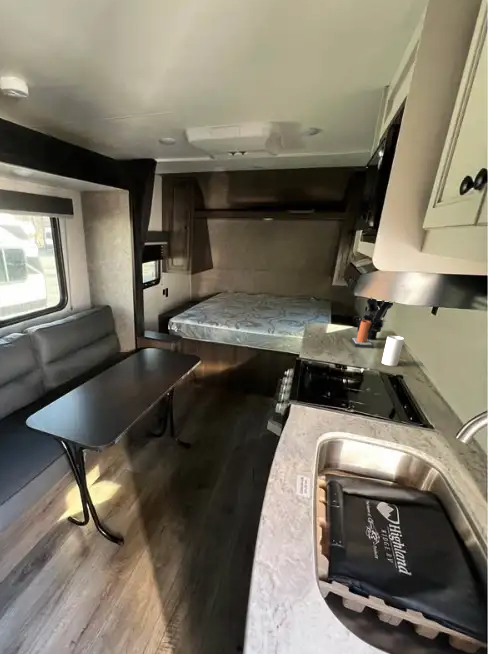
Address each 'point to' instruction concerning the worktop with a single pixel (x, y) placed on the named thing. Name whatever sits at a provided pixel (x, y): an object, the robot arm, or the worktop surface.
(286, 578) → the worktop surface
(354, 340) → the scale
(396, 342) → the cup
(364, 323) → the orange cylinder
